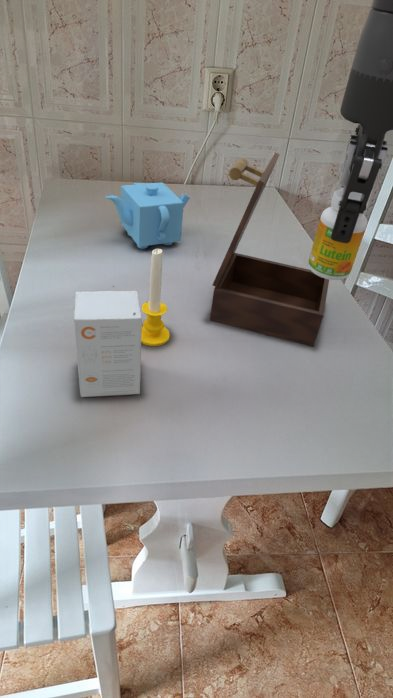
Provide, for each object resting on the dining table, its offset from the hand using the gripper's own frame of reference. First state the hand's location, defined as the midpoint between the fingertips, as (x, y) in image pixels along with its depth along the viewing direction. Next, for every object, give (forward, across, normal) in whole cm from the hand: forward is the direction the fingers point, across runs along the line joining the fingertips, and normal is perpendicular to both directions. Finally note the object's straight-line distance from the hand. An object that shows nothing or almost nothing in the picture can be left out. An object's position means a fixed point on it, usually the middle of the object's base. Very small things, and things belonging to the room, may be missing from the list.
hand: (341, 229), depth 58 cm
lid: (+8, +15, +13) cm, 22 cm away
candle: (+24, +1, +23) cm, 33 cm away
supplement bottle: (+6, 0, 0) cm, 6 cm away
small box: (+24, -11, +25) cm, 36 cm away
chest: (+24, +15, +7) cm, 29 cm away
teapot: (+24, +32, +35) cm, 54 cm away
